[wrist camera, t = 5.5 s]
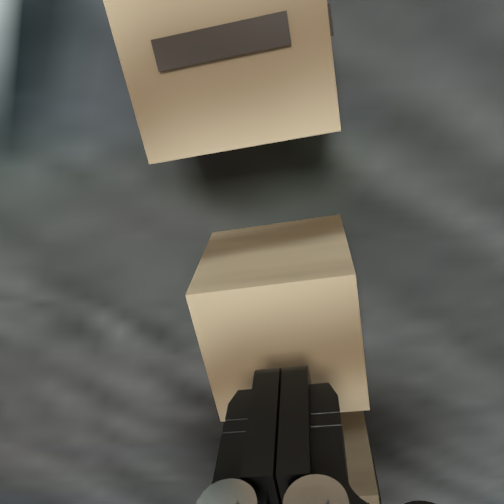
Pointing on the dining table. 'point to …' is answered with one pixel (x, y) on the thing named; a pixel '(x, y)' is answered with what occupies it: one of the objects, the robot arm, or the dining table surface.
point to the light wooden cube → (359, 457)
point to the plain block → (280, 308)
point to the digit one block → (225, 72)
